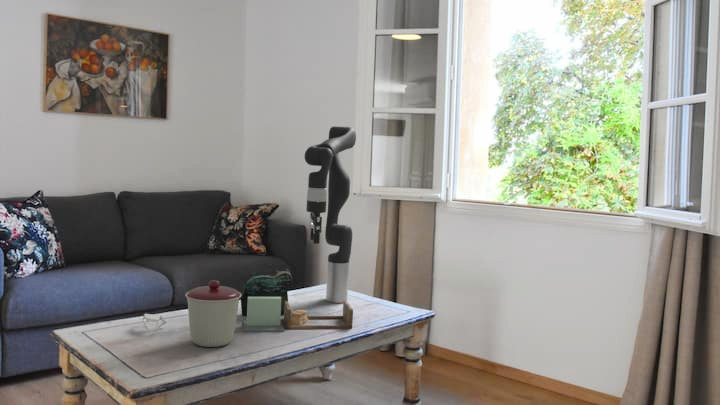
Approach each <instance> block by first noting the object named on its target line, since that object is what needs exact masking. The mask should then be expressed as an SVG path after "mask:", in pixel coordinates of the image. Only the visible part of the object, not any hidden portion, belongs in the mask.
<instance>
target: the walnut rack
mask: <svg viewBox="0 0 720 405" xmlns="http://www.w3.org/2000/svg"><path fill="white" fill-rule="evenodd" d="M291 317H292V309H291V307H290V304H289V300H288V301H285V305H284V314H283V320H284V323H285V326H286V328H287V330H320V329H321V330H324V329H325V330H327V329H328V330H329V329H331V330H335V329H338V330H340V329H343V330H344V329H345V330H346V329H350V330H352V329H353V322H354V321H353V320H354V319H353V318H354V309H353V308H352V307H351V305H350V304H349V303H348V300H347V301H343V306H342V315H307V318H308V320H343V321H344V322H345V324H346V325H345V324H342V325H341V324H337V325H335V324H333V325H332V324H330V325H329V324H328V325H325V324H323V325H322V324H321V325H318V324H317V325H313V324H312V325H309V324H308V325H307V324H306V325H305V324H304V325H297V326H291V325H290V323H291Z"/></svg>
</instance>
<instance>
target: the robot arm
mask: <svg viewBox="0 0 720 405" xmlns="http://www.w3.org/2000/svg"><path fill="white" fill-rule="evenodd" d="M356 142H357V133H356V130H355V129H354V128H353V127H351V126H350V127H349V126H331V127H330V128H329V131H328V139H326V140H324V141H322V142H321V143H319V144H314V145H312V146H309V147H307V149H306V150H305V152H304V160H305V162H306V164H307V165H309V166H315V167H317V166H318V167H320V169H319V170H317V171H312V172H309V174H308V180H307V182H308V185H307V193H306V210H305V211H306V212H308V213H310V215H309V230H310V236H309V238H310V240H311V241H313V244H316V245H317V244H320V239H321V238H320V236H321V233H322V223H323V222H322V221H323V218H322V217H323V216H321V214H323V213H326V212H327V213H326V214H327V216H326V223H325V231H324V232H325V233H324V234H325V241H326V244H328V245H329V246H334V247H335V246H336V247H338V250H337V251H336V252H333V253H330V254H328V257H327V271H326V273H327V274H326V295H325V301H326V302H329V303H334V304H341V303H343V301H347V302H348V291H349V273H350V272H349V270H350V258H351V254H352V244H353V229H352V227H351V226H348V225H345V224H338V221H339V214H340V212H341V209H342V208H343V207H344V205H346V202H347V201H348V199H349V196H350V191H351V179H350V176H349V173H348V172H347V171H346V168H345V167H344V165H343V163H342V161H341V158H340V154H339V153H342V152H343V151H345V150H346V151H347V150H349V149H352V148H353V147H355V144H356ZM327 184H328V185H327ZM327 187H328V188H327ZM327 190H328V191H327ZM327 192H328V193H327ZM327 196H328V197H327Z"/></svg>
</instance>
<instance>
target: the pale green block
mask: <svg viewBox="0 0 720 405" xmlns="http://www.w3.org/2000/svg"><path fill="white" fill-rule="evenodd" d="M281 316H282V315H281V297H248V304H247V316H246V319H247V326H280V320H281V321H282V318H281Z"/></svg>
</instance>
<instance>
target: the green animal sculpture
mask: <svg viewBox="0 0 720 405" xmlns="http://www.w3.org/2000/svg"><path fill="white" fill-rule="evenodd" d="M270 266H275V267H276V268H278V266H277V265H276V264H275V263H270V264H268V266H267V268H270ZM274 271H275V272H274V274H267V273H263V272H253V273H250V274H249V275H247V277H246V278H245V280H244V285H243V287H242V288H241V290H240V291H241V292H240V293H241V294H242V296H241V297H240V308H241V315H242V316H243V317H247V304H248V297H281V316H282V315H284V305H285V301H288V302H289V295H288V288H290V287H291V285H292V282H293V277H292V275H291V272H290V269H289V267H287V268H286V270H281V271H279V270H278V269H274ZM257 274H261V275H257ZM252 275H255V276H252ZM251 276H252V277H251ZM250 277H251V278H250Z"/></svg>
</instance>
